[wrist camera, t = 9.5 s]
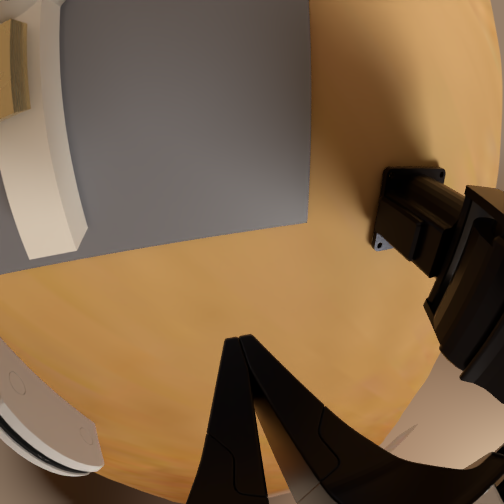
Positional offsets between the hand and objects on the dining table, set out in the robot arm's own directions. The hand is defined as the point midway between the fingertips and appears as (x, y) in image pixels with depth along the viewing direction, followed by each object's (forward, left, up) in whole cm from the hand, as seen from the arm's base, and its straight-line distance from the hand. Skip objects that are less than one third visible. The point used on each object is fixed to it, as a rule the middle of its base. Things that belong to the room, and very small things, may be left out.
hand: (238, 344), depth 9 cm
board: (+4, -9, -9) cm, 14 cm away
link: (+8, -9, -9) cm, 15 cm away
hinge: (+20, +15, -10) cm, 27 cm away
